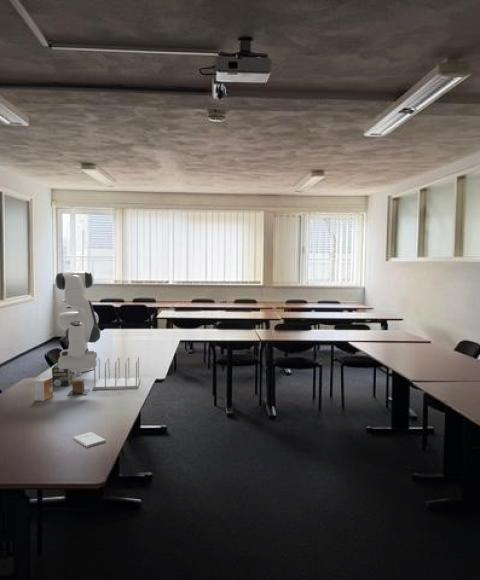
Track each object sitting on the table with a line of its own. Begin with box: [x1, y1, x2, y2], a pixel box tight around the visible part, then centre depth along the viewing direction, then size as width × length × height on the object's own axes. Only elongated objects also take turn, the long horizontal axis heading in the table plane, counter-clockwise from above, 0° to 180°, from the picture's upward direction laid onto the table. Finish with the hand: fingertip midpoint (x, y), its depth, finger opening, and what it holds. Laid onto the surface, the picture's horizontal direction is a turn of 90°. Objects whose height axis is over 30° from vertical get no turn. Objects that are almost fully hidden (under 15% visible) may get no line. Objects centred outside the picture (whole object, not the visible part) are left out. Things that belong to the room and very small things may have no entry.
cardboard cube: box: [71, 378, 85, 393], centre depth 259 cm, size 5×5×7 cm
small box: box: [34, 376, 54, 402], centre depth 249 cm, size 8×6×10 cm
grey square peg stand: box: [66, 388, 91, 397], centre depth 259 cm, size 10×10×7 cm
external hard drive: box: [72, 431, 107, 448], centre depth 193 cm, size 2×8×12 cm
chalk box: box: [51, 359, 73, 388], centre depth 276 cm, size 9×9×15 cm
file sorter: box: [92, 356, 141, 391], centre depth 275 cm, size 25×17×16 cm
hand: (78, 376), depth 259 cm, fingers closed
